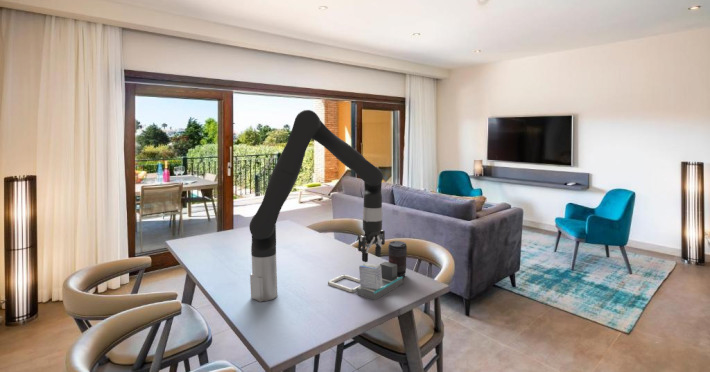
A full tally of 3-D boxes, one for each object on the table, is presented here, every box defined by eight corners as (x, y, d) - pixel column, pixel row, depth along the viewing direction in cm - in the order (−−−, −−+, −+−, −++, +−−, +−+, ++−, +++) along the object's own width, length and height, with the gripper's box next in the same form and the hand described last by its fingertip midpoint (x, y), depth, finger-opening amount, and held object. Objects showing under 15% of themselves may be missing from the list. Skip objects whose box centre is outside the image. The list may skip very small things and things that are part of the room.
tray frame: (352, 292, 146) (352, 290, 146) (327, 284, 154) (327, 281, 154) (368, 284, 154) (368, 281, 154) (344, 276, 162) (344, 274, 162)
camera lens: (385, 277, 162) (385, 244, 160) (392, 271, 169) (392, 239, 167) (402, 280, 158) (403, 247, 156) (408, 274, 165) (409, 242, 163)
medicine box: (382, 286, 144) (381, 265, 144) (377, 290, 141) (375, 268, 140) (366, 283, 149) (364, 262, 148) (360, 287, 145) (358, 265, 144)
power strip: (375, 300, 139) (375, 278, 138) (356, 293, 145) (356, 273, 144) (402, 283, 155) (402, 264, 154) (384, 278, 160) (385, 259, 159)
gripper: (375, 214, 149) (374, 252, 151) (353, 220, 138) (352, 261, 140) (390, 216, 144) (389, 256, 146) (369, 223, 133) (368, 265, 135)
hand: (371, 258), depth 143 cm, fingers open, 8 cm apart
